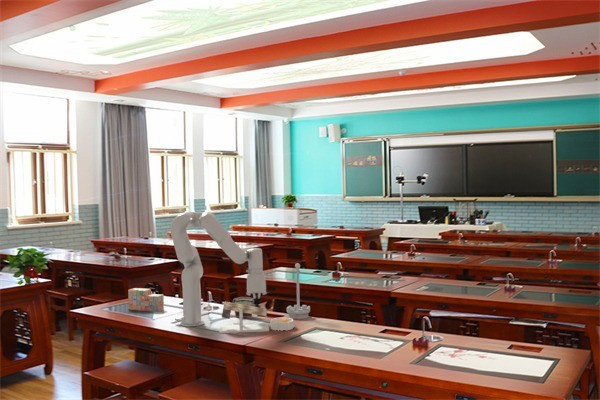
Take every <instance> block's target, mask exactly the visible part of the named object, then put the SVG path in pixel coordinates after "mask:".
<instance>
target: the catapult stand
mask: <svg viewBox="0 0 600 400" xmlns="http://www.w3.org/2000/svg"><path fill="white" fill-rule="evenodd" d="M238 318H239V320H238V321H239V324H230V325H229V324H228V325H219V330H218V331H219V332H218V333H219V334H231V333H232V334H233V333H234V334H235V333H239V334H241V333H255V332H256V333H259V332H260V333H261V332H270V326H269V323H253V324H244V322H243V321H244V319H243V318H244V317H243V310H242V309H239V317H238Z"/></svg>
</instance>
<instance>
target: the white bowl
mask: <svg viewBox="0 0 600 400" xmlns="http://www.w3.org/2000/svg"><path fill="white" fill-rule="evenodd" d="M284 319H288V320H289V322H282V321H283V320H284ZM294 322H295V321H294V319H292V318H289V317H275V318H271V319H270V326H269V329H270V330H272V331H276V330H278V332H281V331H282V332H284V331H283V330H286V331H290V330H293V328H295V327H294V325H295V324H294ZM279 330H281V331H279Z"/></svg>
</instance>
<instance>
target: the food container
mask: <svg viewBox="0 0 600 400" xmlns="http://www.w3.org/2000/svg"><path fill="white" fill-rule="evenodd" d="M232 303H236V304H242V305H248V306H251V304H254V298H253V297H250V296H249V297H247V296H240V297H235V298H233V300H232ZM234 316H235V318H239V312H238V311H234ZM247 317H248V318H252V317H253V314H250V313H244V312H243V318H247Z"/></svg>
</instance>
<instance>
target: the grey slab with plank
mask: <svg viewBox="0 0 600 400" xmlns="http://www.w3.org/2000/svg"><path fill="white" fill-rule="evenodd" d="M239 309H242V310H243V312H244V313H250V314H252V315H255V316H256V315H257V316H263V317H267V313H268V311H267V308H264V307H261V305H260V304H259V306H256V304H254V303H253V304H251V306H248V305H242V304H236V303H234V302H230V301H229V302H228V301H224V303H223V308H222V312H221V318H223V319H228V320H231V319H230V318H231V317H230V316H231V312H232V311H234V312H235V311H238V312H239Z"/></svg>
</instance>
